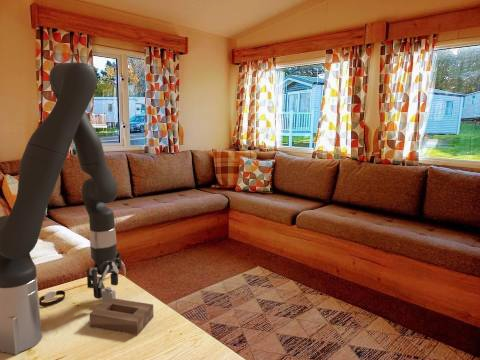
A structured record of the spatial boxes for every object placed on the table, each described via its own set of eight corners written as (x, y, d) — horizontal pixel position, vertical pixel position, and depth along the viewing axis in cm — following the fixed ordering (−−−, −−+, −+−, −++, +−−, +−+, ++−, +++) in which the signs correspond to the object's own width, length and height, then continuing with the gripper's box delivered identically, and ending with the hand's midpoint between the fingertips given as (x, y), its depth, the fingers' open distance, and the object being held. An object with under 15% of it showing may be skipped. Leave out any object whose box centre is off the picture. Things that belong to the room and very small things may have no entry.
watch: (61, 295, 116) (61, 285, 115) (68, 300, 113) (67, 289, 112) (36, 304, 110) (35, 293, 109) (43, 310, 107) (42, 298, 106)
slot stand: (137, 335, 95) (137, 321, 94) (90, 326, 98) (89, 313, 98) (153, 316, 104) (153, 304, 103) (109, 309, 107) (108, 297, 107)
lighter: (116, 303, 111) (115, 279, 109) (112, 306, 109) (111, 282, 108) (98, 298, 113) (97, 275, 112) (94, 301, 112) (93, 277, 110)
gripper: (106, 233, 115) (109, 279, 119) (77, 249, 102) (81, 301, 105) (127, 235, 114) (129, 282, 117) (99, 252, 100) (103, 304, 103)
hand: (106, 291), depth 111 cm, fingers open, 8 cm apart
